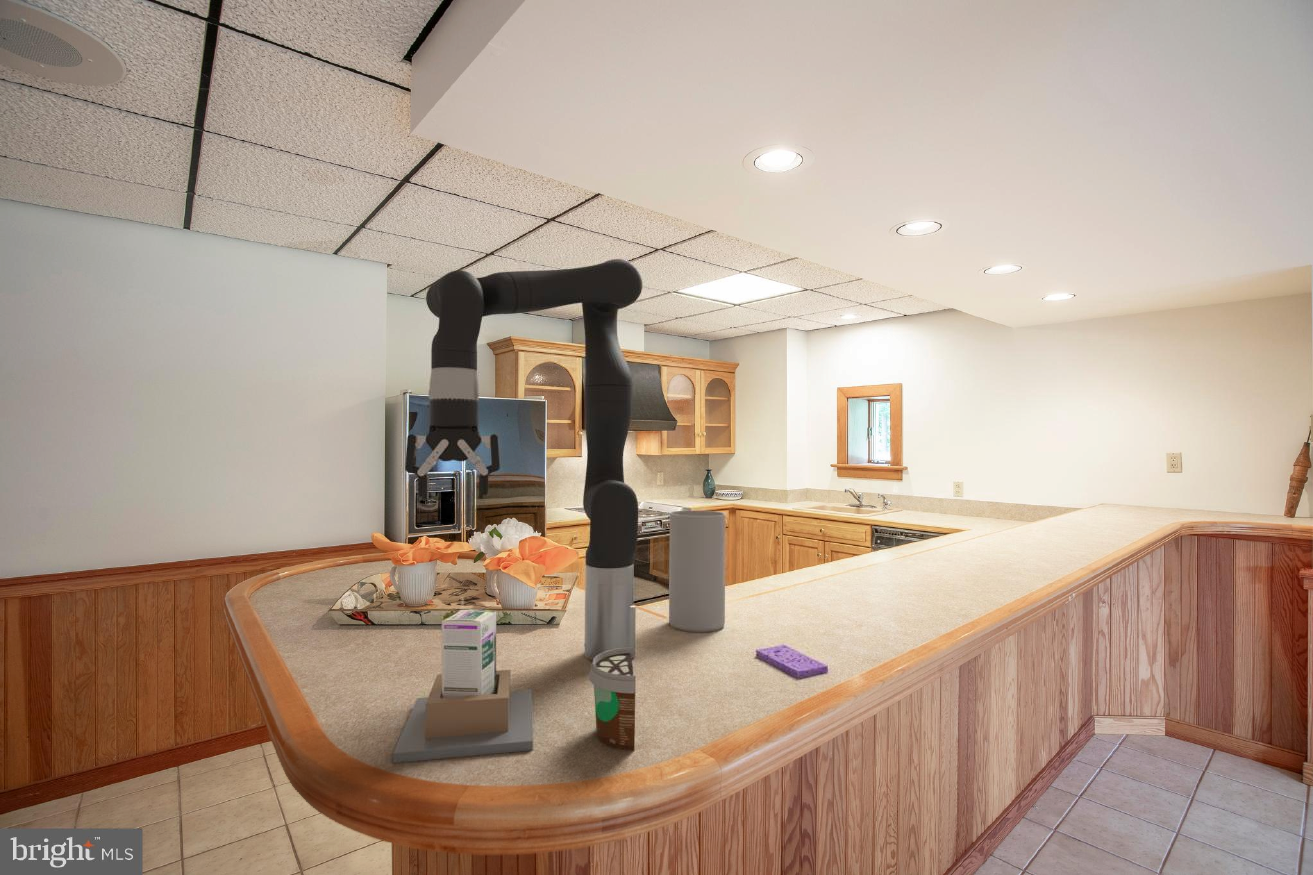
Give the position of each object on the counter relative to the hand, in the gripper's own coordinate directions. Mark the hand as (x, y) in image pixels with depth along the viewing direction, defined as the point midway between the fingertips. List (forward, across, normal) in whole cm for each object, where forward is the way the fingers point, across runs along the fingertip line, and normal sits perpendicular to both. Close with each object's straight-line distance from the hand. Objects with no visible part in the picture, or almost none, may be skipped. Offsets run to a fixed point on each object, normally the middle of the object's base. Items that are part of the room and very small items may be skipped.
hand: (453, 499), depth 97 cm
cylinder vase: (+32, -50, -28) cm, 65 cm away
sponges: (+32, -59, -1) cm, 67 cm away
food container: (+31, -22, +19) cm, 43 cm away
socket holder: (+31, -3, +13) cm, 34 cm away
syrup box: (+30, -3, +13) cm, 33 cm away
